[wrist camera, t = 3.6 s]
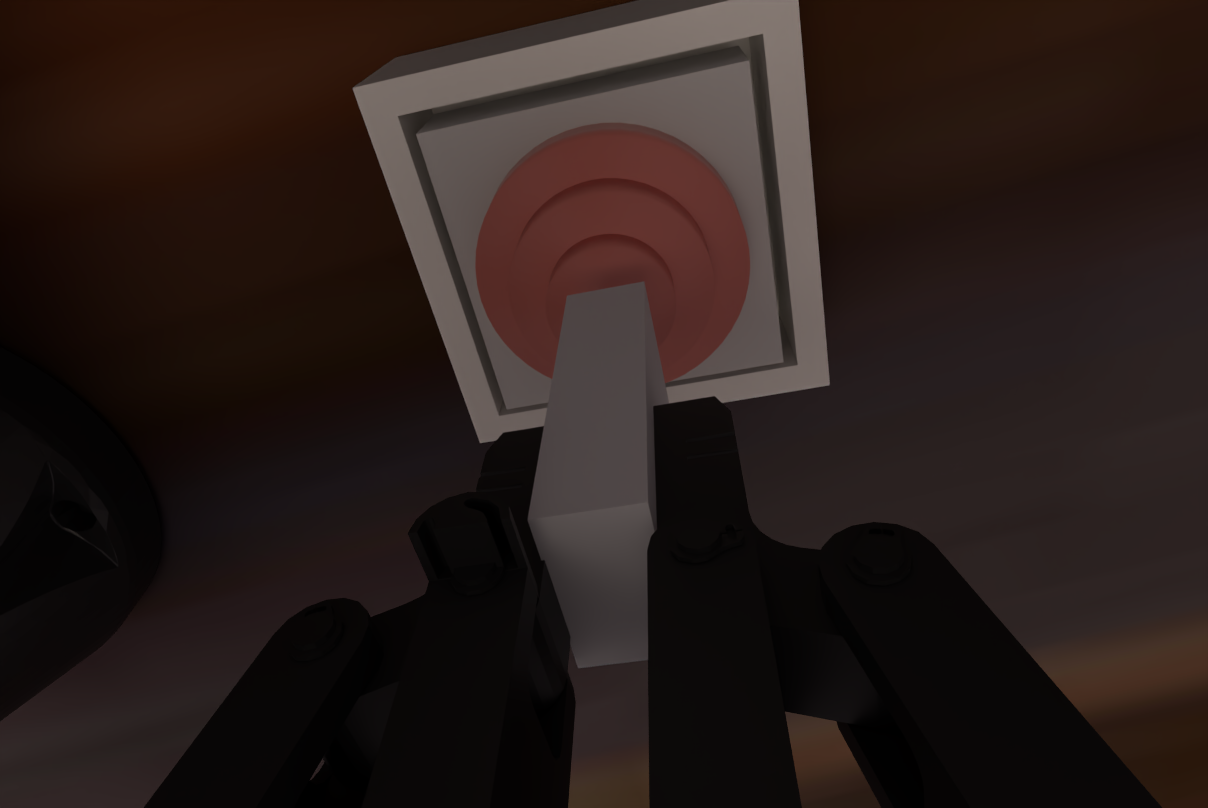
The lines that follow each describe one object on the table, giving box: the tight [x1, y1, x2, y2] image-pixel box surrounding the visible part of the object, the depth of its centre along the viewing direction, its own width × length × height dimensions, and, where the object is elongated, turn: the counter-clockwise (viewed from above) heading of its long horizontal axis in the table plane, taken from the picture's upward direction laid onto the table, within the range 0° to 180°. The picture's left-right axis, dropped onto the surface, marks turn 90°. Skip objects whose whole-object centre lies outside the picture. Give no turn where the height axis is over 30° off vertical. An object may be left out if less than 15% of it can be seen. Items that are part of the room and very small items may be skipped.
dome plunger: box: [416, 46, 784, 409], centre depth 20 cm, size 8×8×5 cm
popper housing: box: [353, 0, 830, 443], centre depth 22 cm, size 10×10×4 cm
